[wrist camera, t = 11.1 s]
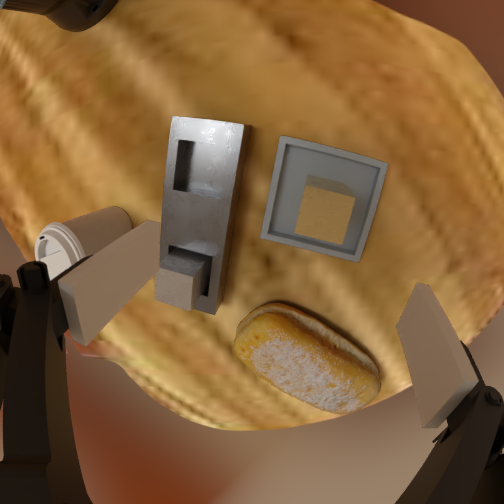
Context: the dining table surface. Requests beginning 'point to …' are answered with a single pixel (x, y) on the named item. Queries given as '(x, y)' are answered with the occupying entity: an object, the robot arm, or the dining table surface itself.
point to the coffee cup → (79, 238)
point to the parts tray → (329, 167)
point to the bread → (306, 359)
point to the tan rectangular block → (325, 209)
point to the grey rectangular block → (182, 278)
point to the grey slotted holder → (203, 194)
